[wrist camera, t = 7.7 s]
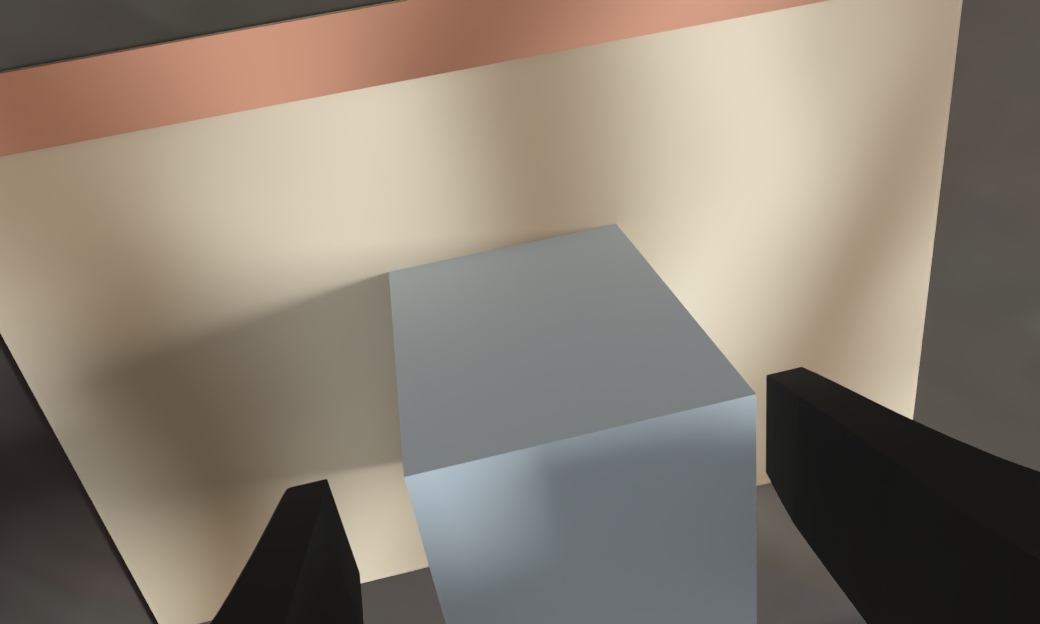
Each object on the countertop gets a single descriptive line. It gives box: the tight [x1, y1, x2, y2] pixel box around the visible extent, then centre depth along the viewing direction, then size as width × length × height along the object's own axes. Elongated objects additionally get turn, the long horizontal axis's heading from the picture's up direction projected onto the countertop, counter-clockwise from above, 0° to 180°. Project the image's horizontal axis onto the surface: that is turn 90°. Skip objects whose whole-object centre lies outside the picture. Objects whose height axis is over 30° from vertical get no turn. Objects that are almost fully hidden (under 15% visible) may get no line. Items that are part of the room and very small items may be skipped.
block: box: [389, 224, 757, 624], centre depth 13 cm, size 4×4×6 cm
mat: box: [0, 0, 962, 624], centre depth 15 cm, size 18×12×1 cm, turn 98°
